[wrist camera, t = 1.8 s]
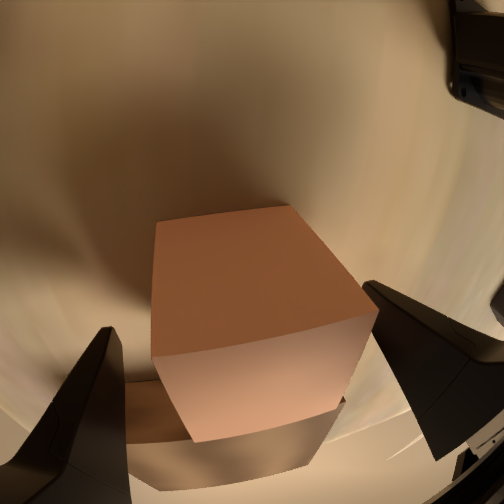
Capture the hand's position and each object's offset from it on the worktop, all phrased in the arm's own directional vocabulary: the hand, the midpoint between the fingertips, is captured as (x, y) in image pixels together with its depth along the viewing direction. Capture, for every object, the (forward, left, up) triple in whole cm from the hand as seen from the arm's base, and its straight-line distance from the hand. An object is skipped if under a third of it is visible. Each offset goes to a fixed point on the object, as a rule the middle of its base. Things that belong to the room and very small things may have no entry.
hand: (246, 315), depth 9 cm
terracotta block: (0, 0, -3) cm, 3 cm away
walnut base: (+2, +14, -3) cm, 14 cm away
